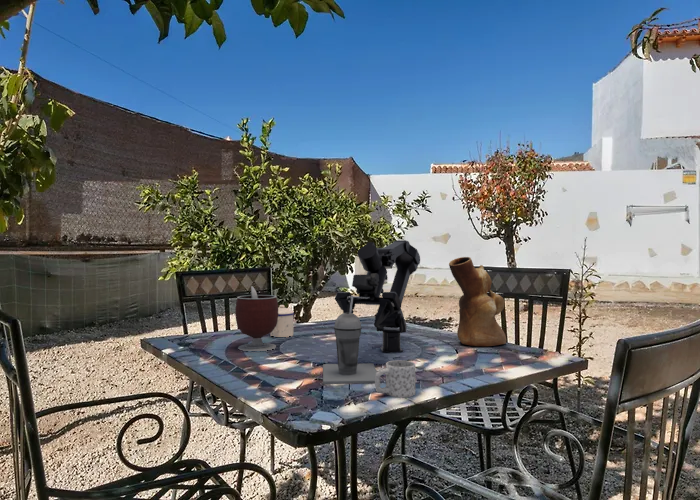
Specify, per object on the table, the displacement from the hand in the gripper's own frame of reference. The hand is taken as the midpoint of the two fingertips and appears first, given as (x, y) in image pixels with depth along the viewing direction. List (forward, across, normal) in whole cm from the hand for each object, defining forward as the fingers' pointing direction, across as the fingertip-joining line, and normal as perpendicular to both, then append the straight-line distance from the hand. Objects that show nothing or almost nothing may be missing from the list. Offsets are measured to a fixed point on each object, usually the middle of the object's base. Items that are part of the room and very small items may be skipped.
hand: (359, 325), depth 133 cm
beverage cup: (+14, 0, +2) cm, 14 cm away
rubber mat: (+13, 0, +3) cm, 14 cm away
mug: (+22, +17, -5) cm, 28 cm away
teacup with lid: (-14, -48, +29) cm, 58 cm away
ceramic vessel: (-23, +20, +43) cm, 53 cm away
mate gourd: (+1, -43, +14) cm, 45 cm away
